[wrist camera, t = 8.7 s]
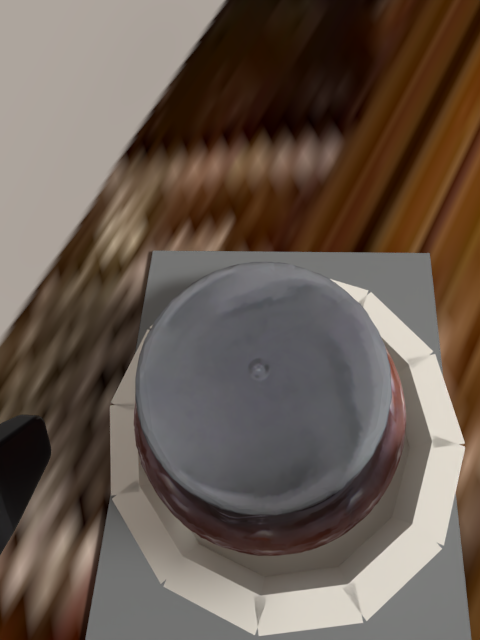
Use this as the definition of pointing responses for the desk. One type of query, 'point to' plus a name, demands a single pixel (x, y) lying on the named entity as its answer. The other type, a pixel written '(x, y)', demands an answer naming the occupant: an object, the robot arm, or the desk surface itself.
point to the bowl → (325, 561)
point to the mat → (222, 636)
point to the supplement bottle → (268, 409)
